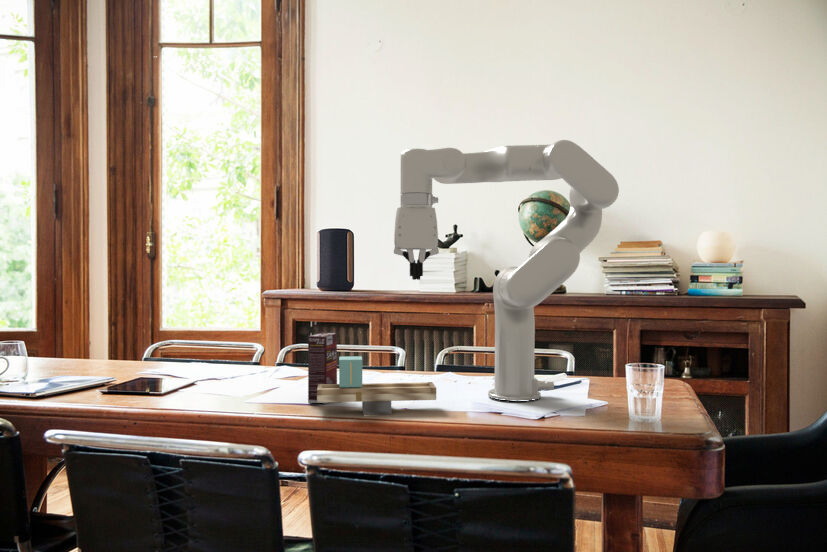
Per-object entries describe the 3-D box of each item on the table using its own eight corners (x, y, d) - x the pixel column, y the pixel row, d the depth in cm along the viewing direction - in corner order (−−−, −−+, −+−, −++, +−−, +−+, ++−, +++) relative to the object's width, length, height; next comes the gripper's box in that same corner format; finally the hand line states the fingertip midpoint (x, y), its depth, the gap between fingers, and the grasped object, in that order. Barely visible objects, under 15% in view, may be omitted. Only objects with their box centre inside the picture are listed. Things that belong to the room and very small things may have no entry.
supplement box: (327, 404, 163) (326, 336, 163) (307, 403, 164) (306, 336, 163) (338, 397, 171) (337, 332, 171) (319, 396, 172) (318, 332, 172)
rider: (361, 388, 158) (361, 356, 158) (362, 393, 153) (362, 359, 153) (339, 389, 157) (339, 356, 157) (339, 393, 152) (339, 360, 152)
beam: (431, 405, 162) (431, 381, 162) (436, 414, 153) (437, 388, 153) (318, 408, 159) (318, 383, 159) (317, 417, 150) (316, 390, 150)
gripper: (445, 203, 170) (444, 278, 171) (383, 202, 169) (383, 279, 169) (450, 201, 163) (449, 280, 163) (385, 200, 161) (385, 280, 162)
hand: (416, 279), depth 166 cm, fingers closed
